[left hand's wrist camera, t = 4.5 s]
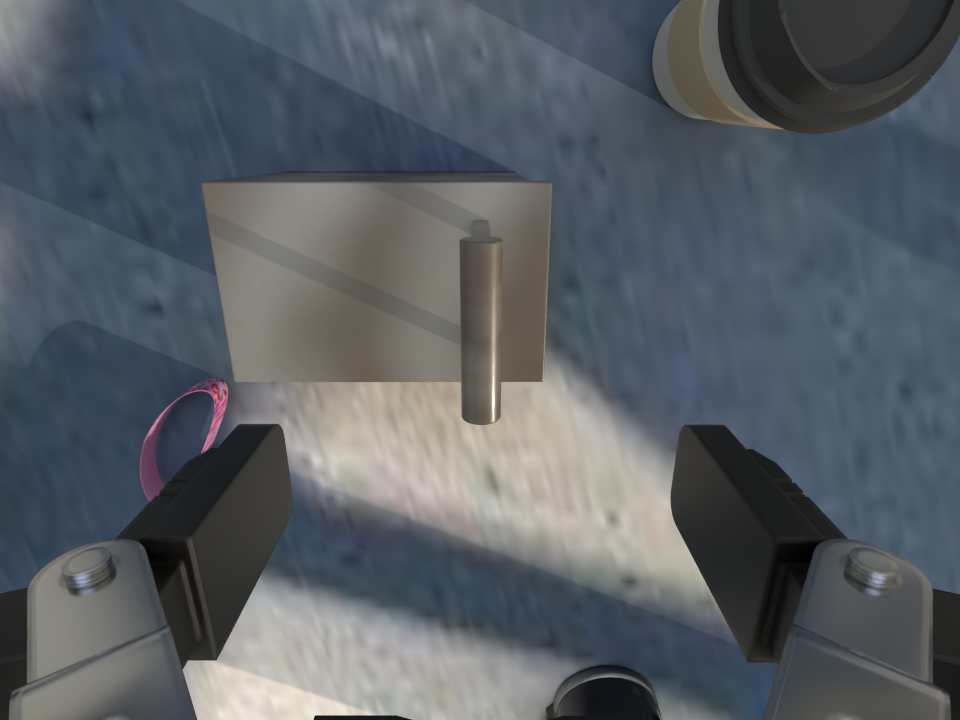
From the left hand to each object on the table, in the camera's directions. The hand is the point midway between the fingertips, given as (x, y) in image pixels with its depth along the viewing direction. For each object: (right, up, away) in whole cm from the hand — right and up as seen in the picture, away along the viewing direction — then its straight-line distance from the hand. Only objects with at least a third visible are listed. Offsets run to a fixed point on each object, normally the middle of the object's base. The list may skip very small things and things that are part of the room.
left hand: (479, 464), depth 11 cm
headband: (-22, -3, +30) cm, 38 cm away
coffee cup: (+14, +20, +22) cm, 32 cm away
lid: (-5, +6, +15) cm, 17 cm away
